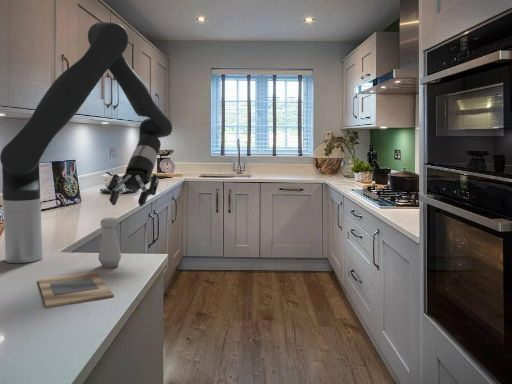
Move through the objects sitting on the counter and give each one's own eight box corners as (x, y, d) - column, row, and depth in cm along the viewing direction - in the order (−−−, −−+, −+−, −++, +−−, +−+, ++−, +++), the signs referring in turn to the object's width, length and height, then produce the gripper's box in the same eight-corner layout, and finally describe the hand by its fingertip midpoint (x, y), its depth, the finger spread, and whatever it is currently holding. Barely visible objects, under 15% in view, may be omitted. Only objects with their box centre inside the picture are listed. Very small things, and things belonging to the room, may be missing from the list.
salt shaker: (114, 269, 114) (113, 220, 112) (94, 268, 115) (92, 219, 114) (125, 263, 119) (124, 216, 118) (106, 262, 121) (105, 216, 119)
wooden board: (38, 281, 103) (38, 278, 103) (95, 273, 110) (95, 271, 110) (46, 307, 86) (46, 304, 86) (113, 296, 93) (113, 293, 93)
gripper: (116, 154, 134) (98, 195, 124) (160, 154, 132) (145, 196, 122) (124, 171, 140) (108, 211, 130) (167, 171, 138) (153, 212, 127)
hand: (126, 203), depth 126 cm, fingers open, 8 cm apart
